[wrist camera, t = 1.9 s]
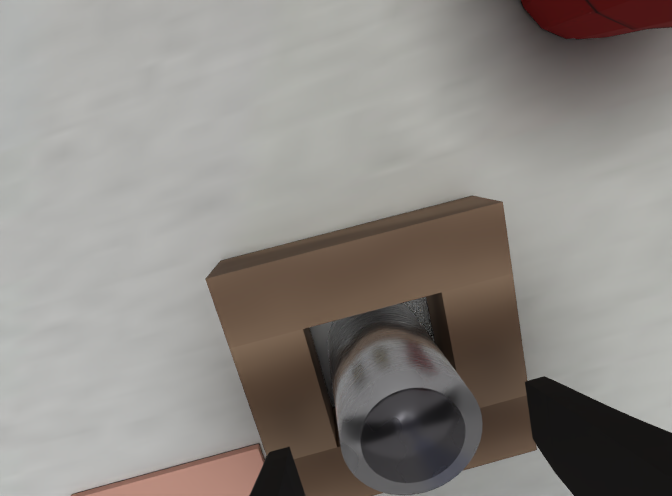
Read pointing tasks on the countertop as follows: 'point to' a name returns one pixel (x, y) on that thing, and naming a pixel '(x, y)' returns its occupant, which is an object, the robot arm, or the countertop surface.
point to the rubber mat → (194, 477)
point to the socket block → (367, 295)
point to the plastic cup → (599, 16)
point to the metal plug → (399, 403)
